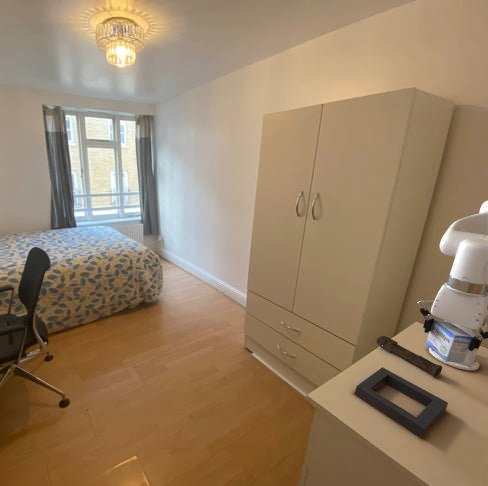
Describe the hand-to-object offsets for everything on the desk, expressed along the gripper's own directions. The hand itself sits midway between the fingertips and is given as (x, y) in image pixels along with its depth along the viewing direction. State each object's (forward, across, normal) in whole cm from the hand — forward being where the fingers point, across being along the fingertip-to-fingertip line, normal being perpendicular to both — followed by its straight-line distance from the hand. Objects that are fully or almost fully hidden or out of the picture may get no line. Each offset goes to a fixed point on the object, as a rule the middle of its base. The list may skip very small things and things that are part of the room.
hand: (448, 339), depth 78 cm
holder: (+19, +3, +13) cm, 23 cm away
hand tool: (+19, +11, -11) cm, 25 cm away
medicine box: (+5, 0, 0) cm, 5 cm away
